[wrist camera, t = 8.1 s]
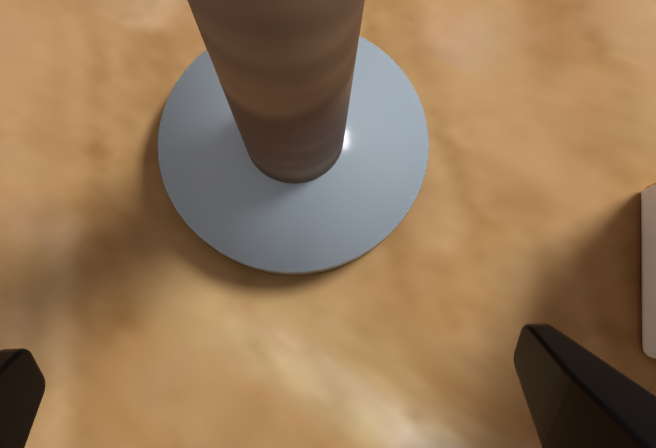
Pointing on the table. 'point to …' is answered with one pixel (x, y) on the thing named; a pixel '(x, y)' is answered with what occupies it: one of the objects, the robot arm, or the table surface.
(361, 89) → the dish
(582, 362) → the robot arm
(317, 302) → the table surface
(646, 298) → the medicine bottle
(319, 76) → the brown cylinder
